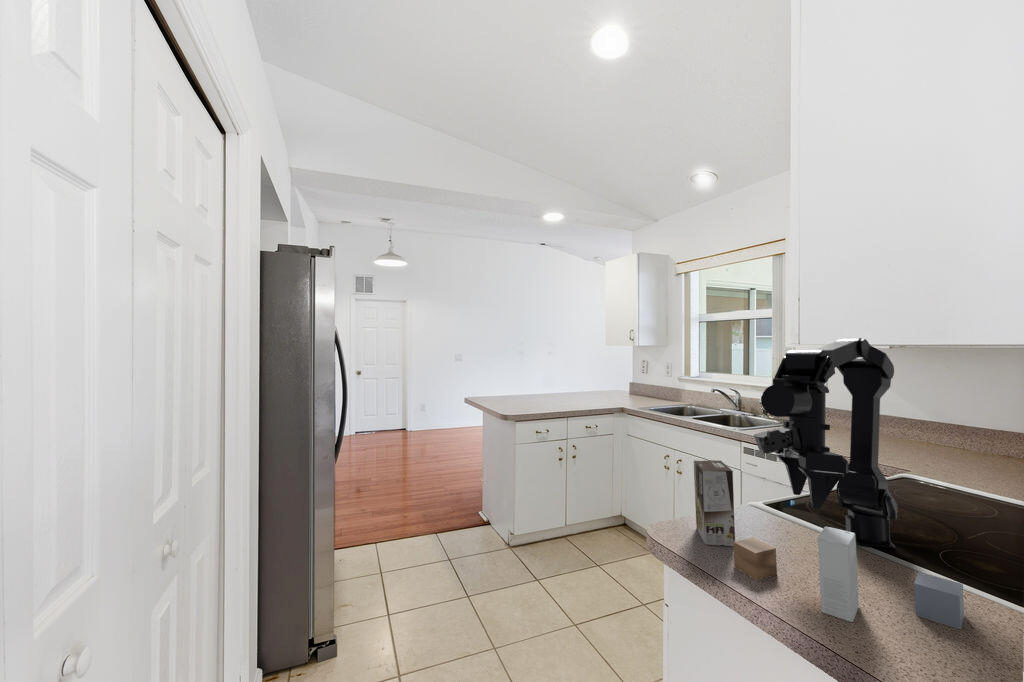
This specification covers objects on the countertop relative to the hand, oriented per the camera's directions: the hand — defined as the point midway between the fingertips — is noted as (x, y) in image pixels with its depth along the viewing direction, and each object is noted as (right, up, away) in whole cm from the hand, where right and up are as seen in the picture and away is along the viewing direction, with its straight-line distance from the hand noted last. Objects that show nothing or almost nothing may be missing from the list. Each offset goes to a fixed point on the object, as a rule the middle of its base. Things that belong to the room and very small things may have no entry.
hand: (805, 501), depth 80 cm
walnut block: (-8, -14, +2) cm, 16 cm away
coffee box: (-9, -14, +17) cm, 24 cm away
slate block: (+12, -13, -13) cm, 22 cm away
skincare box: (-2, -14, -11) cm, 17 cm away
